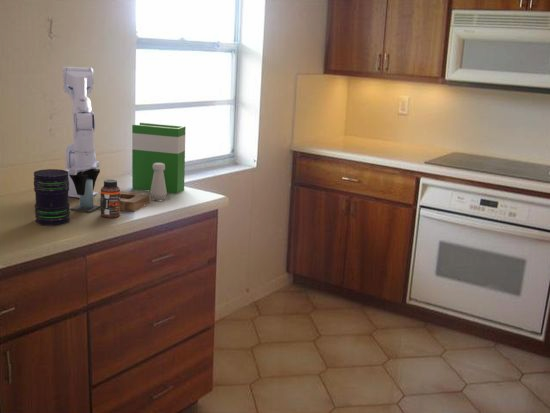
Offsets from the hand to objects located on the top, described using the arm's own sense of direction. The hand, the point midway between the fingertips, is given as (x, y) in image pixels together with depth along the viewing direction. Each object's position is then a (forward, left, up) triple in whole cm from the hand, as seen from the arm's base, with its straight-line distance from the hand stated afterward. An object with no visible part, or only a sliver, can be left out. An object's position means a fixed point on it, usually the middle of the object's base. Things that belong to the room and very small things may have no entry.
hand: (85, 192), depth 198 cm
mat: (0, 0, -5) cm, 5 cm away
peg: (+1, 0, -5) cm, 5 cm away
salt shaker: (+16, +22, -6) cm, 27 cm away
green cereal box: (+9, +36, -6) cm, 37 cm away
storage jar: (-1, -16, -6) cm, 17 cm away
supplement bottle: (+11, -3, -6) cm, 12 cm away
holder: (+9, +10, -5) cm, 14 cm away
